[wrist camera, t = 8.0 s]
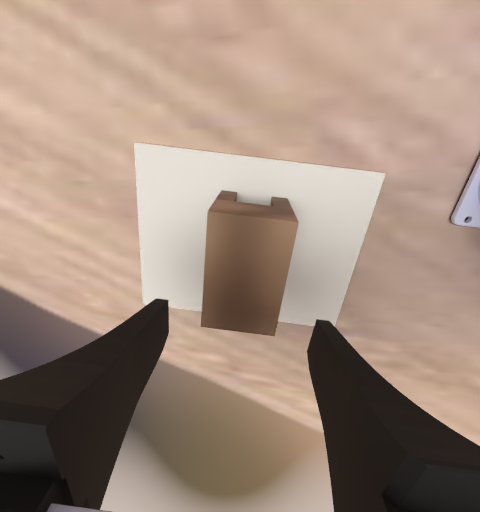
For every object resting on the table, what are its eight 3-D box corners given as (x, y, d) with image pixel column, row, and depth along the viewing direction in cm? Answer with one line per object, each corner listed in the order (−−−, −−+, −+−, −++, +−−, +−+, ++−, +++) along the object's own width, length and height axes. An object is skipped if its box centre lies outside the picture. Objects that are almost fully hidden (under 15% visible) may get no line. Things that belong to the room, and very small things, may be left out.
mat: (382, 172, 19) (385, 173, 19) (332, 324, 25) (334, 328, 24) (137, 142, 19) (134, 142, 19) (145, 300, 25) (143, 304, 25)
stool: (287, 198, 20) (298, 222, 14) (270, 288, 23) (274, 336, 18) (221, 190, 20) (207, 211, 14) (214, 281, 23) (200, 326, 18)
